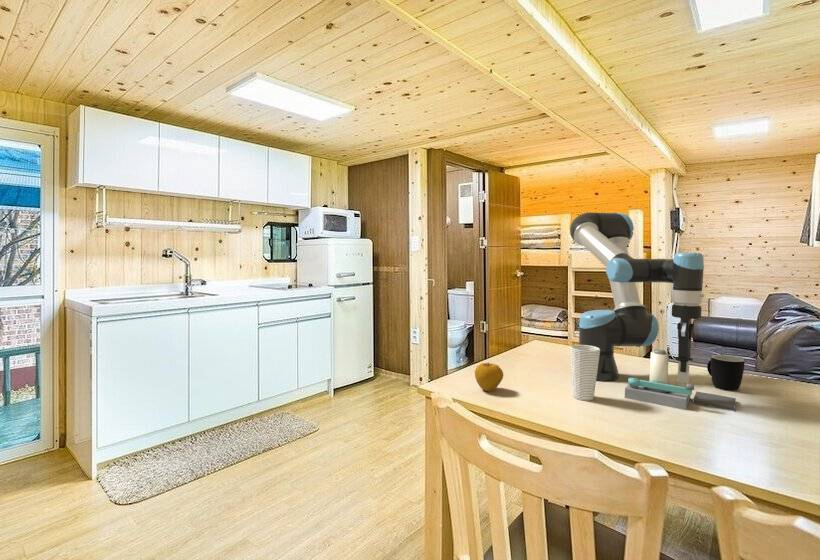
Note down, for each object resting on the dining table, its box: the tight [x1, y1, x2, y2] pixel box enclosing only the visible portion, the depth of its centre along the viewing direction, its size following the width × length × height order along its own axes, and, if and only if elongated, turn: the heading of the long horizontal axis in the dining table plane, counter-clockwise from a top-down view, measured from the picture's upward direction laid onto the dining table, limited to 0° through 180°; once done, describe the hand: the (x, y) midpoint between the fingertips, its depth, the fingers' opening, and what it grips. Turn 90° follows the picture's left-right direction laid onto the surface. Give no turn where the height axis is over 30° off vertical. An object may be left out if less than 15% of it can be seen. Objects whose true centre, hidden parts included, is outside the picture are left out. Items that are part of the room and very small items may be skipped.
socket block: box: [624, 383, 692, 411], centre depth 134 cm, size 16×12×4 cm
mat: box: [692, 391, 737, 412], centre depth 131 cm, size 10×10×1 cm
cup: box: [569, 344, 600, 402], centre depth 133 cm, size 8×8×16 cm
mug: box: [706, 354, 745, 392], centre depth 146 cm, size 12×9×10 cm
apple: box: [474, 362, 504, 392], centre depth 140 cm, size 9×9×9 cm
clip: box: [627, 377, 695, 396], centre depth 130 cm, size 17×3×3 cm, turn 52°
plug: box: [644, 349, 670, 393], centre depth 134 cm, size 8×8×15 cm
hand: (683, 381), depth 132 cm, fingers closed
